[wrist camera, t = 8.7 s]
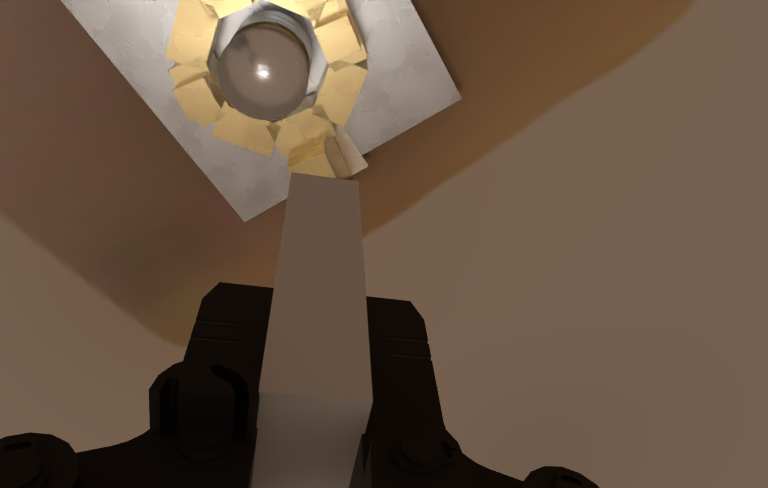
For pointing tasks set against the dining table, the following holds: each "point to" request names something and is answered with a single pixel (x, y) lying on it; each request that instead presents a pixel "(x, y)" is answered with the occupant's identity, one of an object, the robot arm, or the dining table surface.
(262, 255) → the dining table surface
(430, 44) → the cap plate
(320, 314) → the robot arm
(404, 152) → the dining table surface
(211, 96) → the ring nut
